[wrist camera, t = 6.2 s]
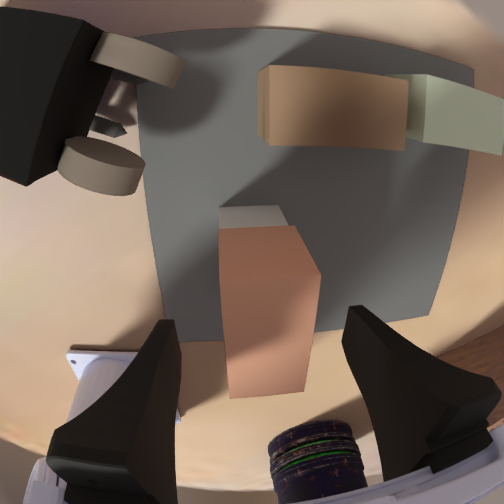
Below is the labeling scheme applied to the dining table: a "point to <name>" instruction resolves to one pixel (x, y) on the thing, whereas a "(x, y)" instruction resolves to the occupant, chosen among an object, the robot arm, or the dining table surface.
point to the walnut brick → (330, 108)
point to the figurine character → (69, 99)
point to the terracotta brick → (267, 309)
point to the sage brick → (453, 114)
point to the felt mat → (291, 179)
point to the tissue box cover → (483, 365)
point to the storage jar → (315, 462)
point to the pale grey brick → (251, 216)
